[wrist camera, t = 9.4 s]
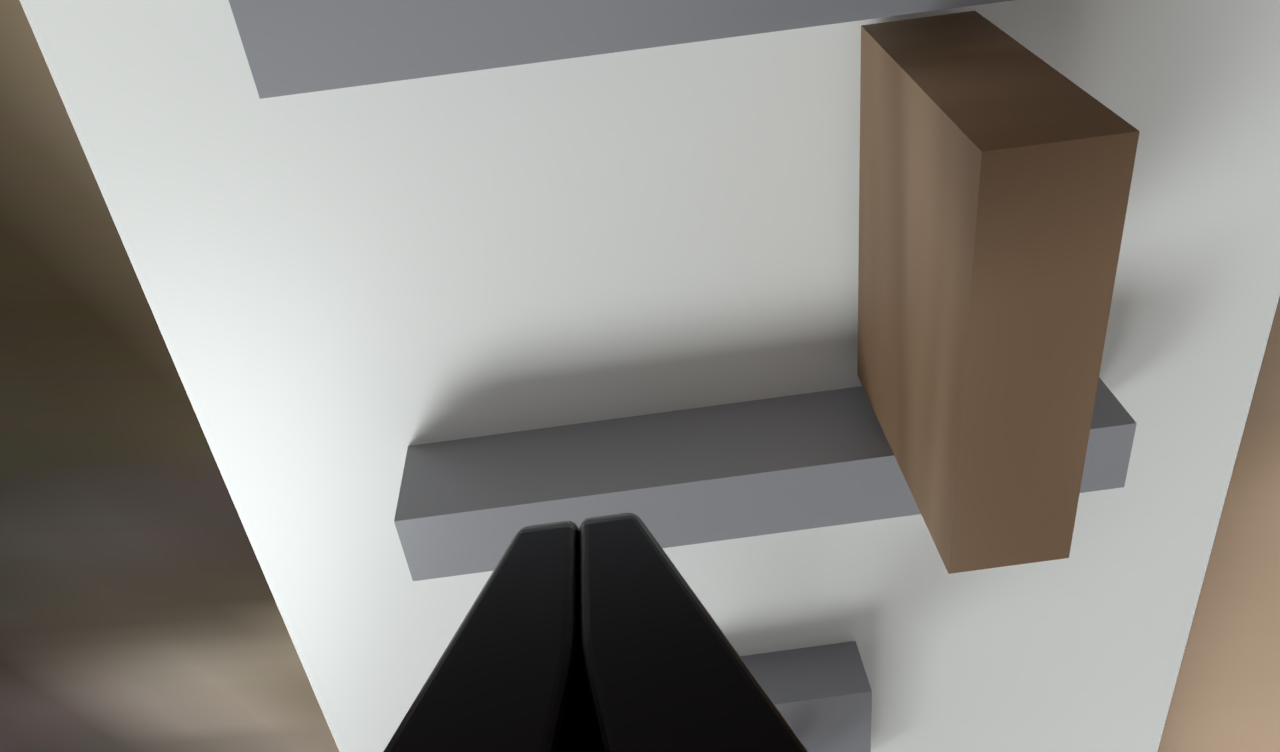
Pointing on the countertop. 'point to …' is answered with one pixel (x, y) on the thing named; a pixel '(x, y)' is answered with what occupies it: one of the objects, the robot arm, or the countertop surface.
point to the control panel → (665, 331)
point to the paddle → (985, 278)
